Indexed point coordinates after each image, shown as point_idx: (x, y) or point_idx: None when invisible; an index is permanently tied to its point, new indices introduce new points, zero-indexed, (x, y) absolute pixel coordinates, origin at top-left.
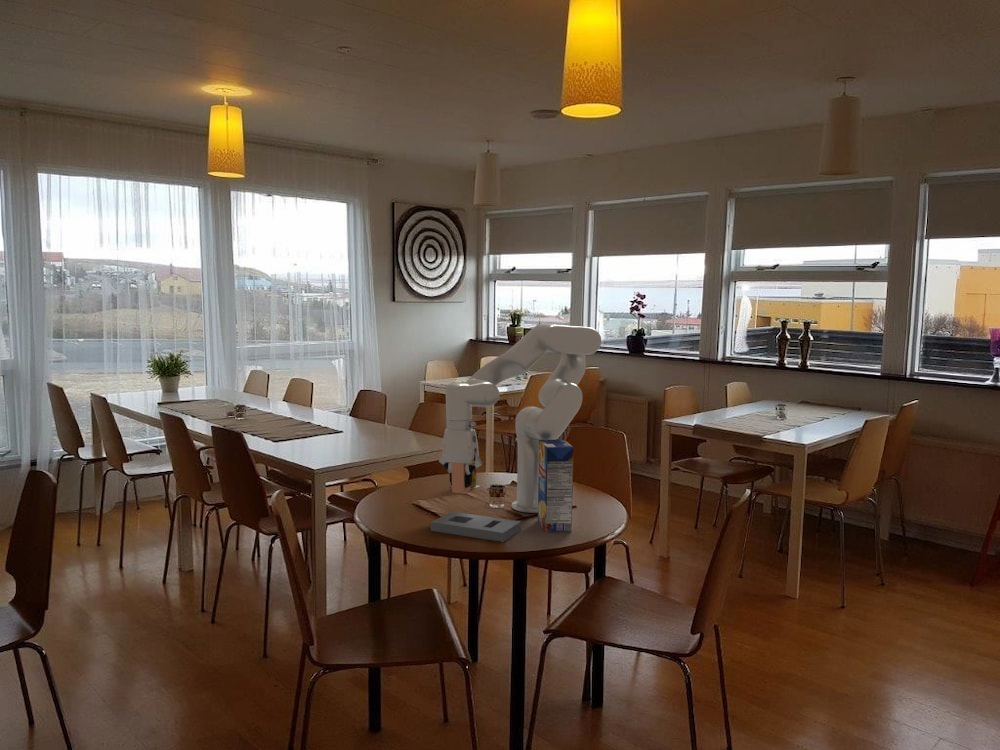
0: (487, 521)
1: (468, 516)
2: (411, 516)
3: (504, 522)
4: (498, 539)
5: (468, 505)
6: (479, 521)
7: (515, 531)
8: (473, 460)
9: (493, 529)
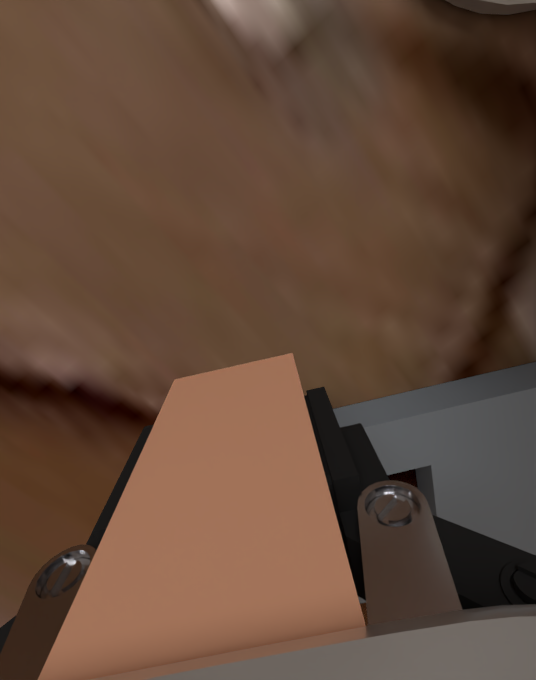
0: (521, 462)
1: (391, 460)
2: (65, 503)
3: None
4: None
5: (104, 120)
6: (486, 485)
7: None
8: (489, 636)
9: None
